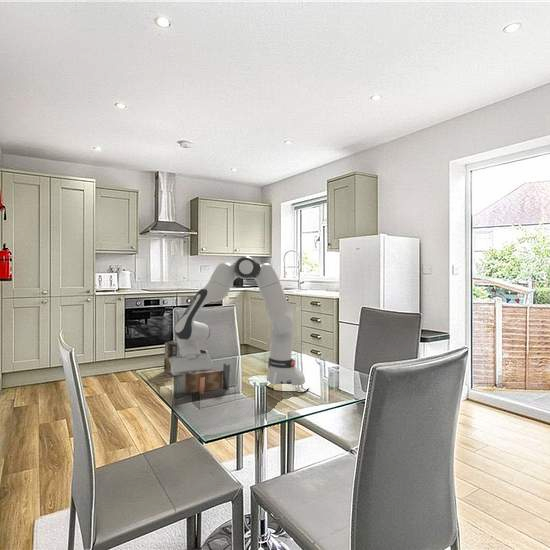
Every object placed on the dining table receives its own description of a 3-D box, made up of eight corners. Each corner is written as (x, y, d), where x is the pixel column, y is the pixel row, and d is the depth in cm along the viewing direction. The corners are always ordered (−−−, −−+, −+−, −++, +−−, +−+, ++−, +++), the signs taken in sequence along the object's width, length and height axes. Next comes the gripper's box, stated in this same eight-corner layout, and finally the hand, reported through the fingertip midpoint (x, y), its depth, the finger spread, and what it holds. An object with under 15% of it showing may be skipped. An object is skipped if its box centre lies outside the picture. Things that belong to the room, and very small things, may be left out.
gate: (220, 387, 196) (221, 369, 195) (222, 388, 194) (223, 370, 194) (184, 391, 187) (185, 373, 186) (185, 393, 185) (186, 374, 184)
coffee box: (184, 372, 217) (185, 342, 216) (175, 375, 212) (177, 344, 211) (172, 368, 222) (173, 340, 221) (163, 371, 216) (164, 342, 216)
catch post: (205, 392, 189) (205, 376, 188) (203, 394, 186) (203, 378, 186) (200, 391, 189) (200, 376, 189) (198, 393, 187) (199, 377, 186)
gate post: (229, 387, 197) (230, 363, 197) (227, 389, 194) (228, 365, 193) (223, 386, 198) (224, 362, 197) (221, 389, 195) (222, 364, 194)
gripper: (170, 353, 190) (175, 380, 182) (210, 350, 200) (217, 375, 192) (167, 360, 194) (171, 386, 186) (207, 356, 204) (213, 381, 196)
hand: (195, 381), depth 189 cm, fingers closed, pressing on gate
